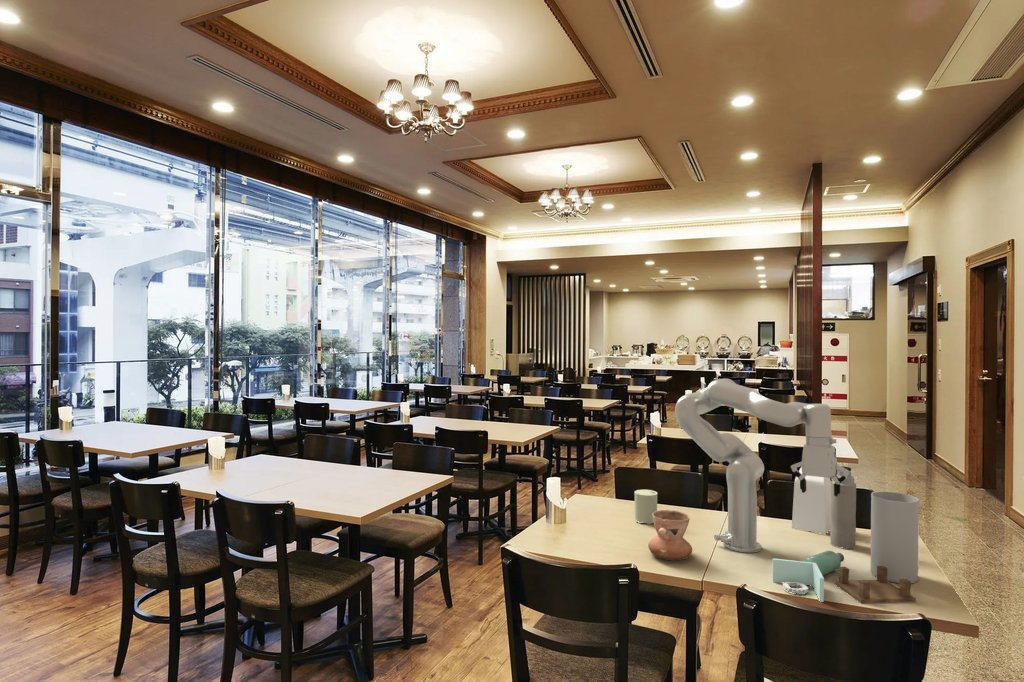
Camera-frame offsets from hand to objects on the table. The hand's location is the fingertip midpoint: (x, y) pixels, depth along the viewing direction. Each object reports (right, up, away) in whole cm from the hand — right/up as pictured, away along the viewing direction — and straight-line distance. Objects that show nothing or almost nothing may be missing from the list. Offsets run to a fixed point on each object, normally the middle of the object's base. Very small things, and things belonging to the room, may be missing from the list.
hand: (820, 493), depth 198 cm
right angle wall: (-17, -24, -21) cm, 36 cm away
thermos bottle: (+17, -23, +18) cm, 34 cm away
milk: (+16, -23, +37) cm, 46 cm away
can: (-47, -23, +46) cm, 69 cm away
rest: (+5, -24, -22) cm, 32 cm away
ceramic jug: (-47, -23, +8) cm, 53 cm away
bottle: (-1, -23, -6) cm, 24 cm away
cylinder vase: (+18, -24, -10) cm, 31 cm away
